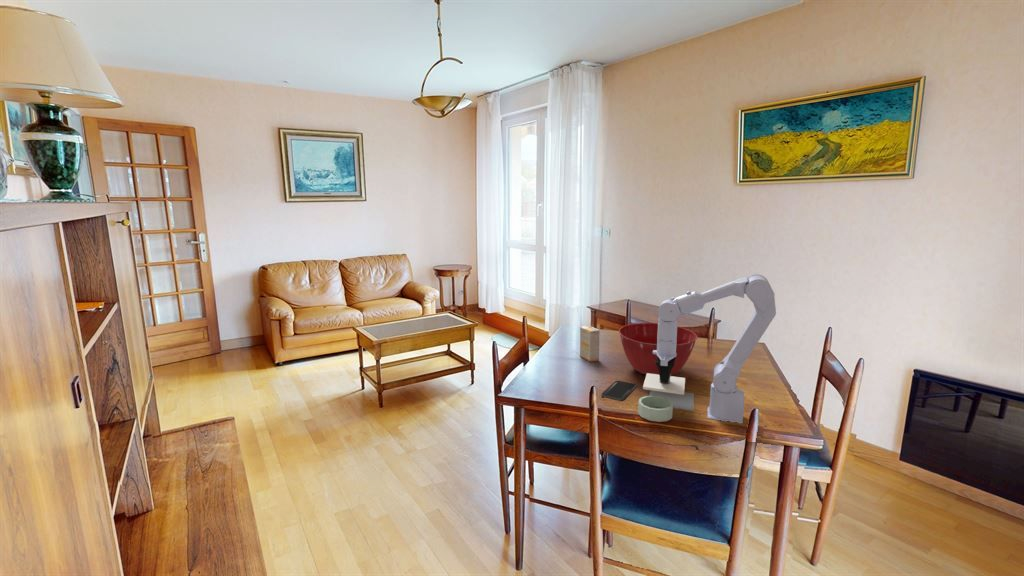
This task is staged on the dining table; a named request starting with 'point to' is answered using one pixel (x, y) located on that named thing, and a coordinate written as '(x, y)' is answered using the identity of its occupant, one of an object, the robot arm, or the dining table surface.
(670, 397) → the mat
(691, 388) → the dining table surface
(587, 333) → the supplement box
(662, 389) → the lid
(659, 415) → the bowl
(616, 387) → the phone
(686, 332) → the mixing bowl
